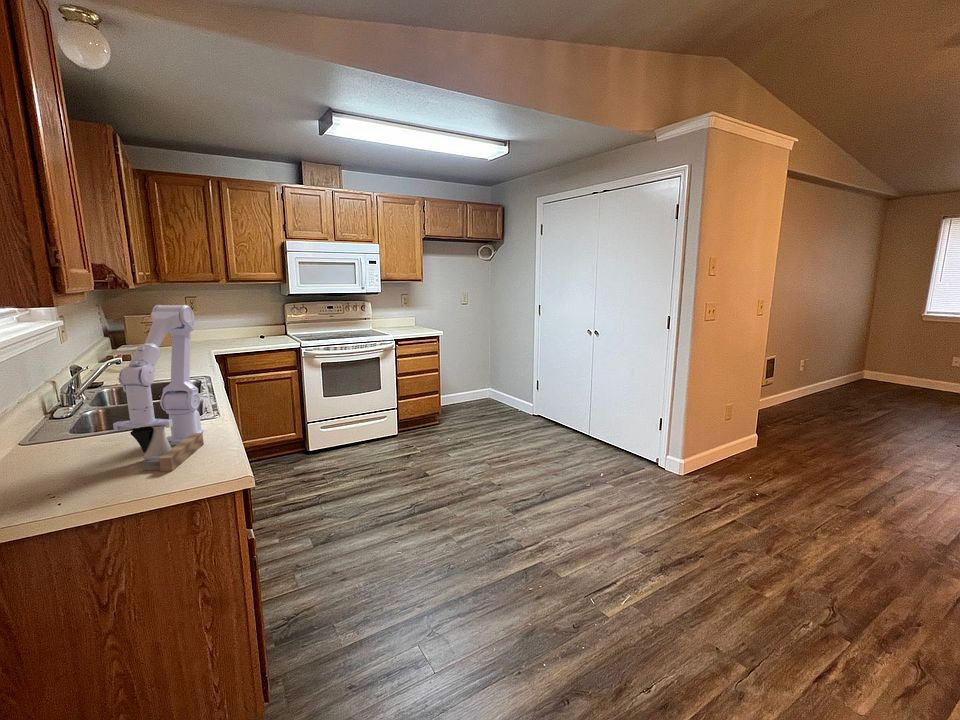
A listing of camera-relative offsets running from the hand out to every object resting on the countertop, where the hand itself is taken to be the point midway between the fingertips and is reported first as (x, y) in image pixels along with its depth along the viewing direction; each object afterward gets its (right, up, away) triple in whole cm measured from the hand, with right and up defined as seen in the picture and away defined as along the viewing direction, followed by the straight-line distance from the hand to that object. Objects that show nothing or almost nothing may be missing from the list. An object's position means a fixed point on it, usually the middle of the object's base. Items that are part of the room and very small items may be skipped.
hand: (147, 451), depth 131 cm
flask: (+3, -2, +1) cm, 4 cm away
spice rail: (+7, -2, +2) cm, 7 cm away
